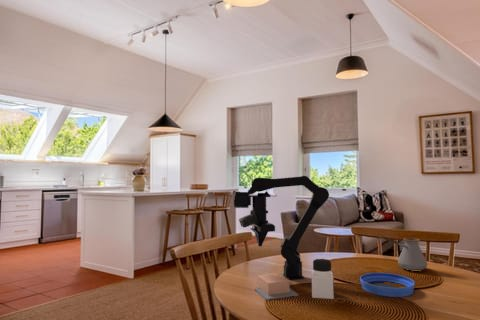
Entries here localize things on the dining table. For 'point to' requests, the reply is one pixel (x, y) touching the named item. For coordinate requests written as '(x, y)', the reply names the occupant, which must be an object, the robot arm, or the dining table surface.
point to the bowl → (387, 288)
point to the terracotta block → (273, 284)
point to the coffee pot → (410, 254)
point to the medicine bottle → (322, 279)
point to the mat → (275, 296)
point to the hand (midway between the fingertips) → (259, 246)
